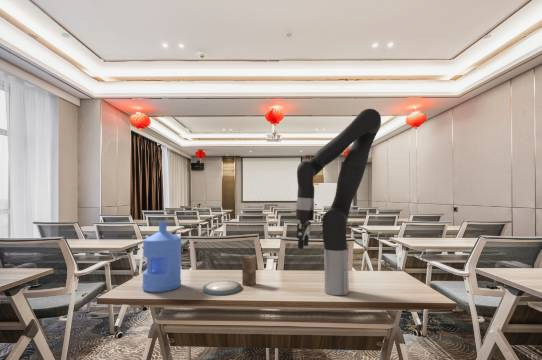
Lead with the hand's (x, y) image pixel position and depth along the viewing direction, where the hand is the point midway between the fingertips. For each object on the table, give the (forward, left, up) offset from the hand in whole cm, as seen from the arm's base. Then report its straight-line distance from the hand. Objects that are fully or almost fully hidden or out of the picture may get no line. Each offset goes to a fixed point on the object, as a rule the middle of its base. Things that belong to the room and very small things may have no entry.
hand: (303, 247), depth 126 cm
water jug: (+59, +17, -18) cm, 63 cm away
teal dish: (+33, +11, -17) cm, 38 cm away
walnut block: (+25, +1, -17) cm, 30 cm away
